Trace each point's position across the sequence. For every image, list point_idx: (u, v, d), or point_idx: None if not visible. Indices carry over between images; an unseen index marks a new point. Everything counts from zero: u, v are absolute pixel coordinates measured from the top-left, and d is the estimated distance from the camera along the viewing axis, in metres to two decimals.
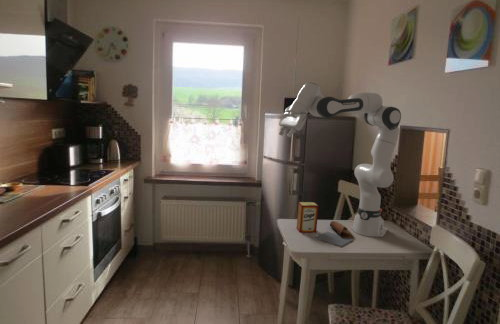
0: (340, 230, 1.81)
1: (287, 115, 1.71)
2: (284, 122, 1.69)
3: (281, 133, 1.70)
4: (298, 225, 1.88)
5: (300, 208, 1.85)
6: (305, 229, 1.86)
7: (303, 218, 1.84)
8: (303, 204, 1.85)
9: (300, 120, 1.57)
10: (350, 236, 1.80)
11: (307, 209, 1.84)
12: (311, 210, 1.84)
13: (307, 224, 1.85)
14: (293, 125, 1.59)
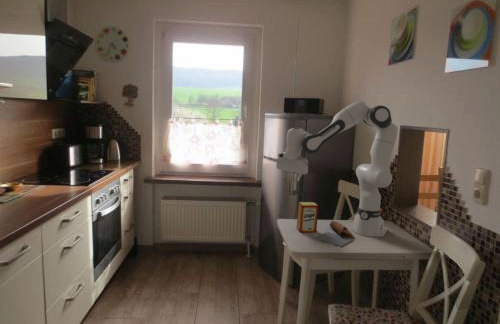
0: (340, 230, 1.81)
1: (283, 160, 1.94)
2: (285, 167, 1.94)
3: (285, 176, 1.96)
4: (298, 225, 1.88)
5: (300, 208, 1.85)
6: (305, 229, 1.86)
7: (303, 218, 1.84)
8: (303, 204, 1.85)
9: (305, 167, 1.85)
10: (350, 236, 1.80)
11: (307, 209, 1.84)
12: (311, 210, 1.84)
13: (307, 224, 1.85)
14: (300, 172, 1.86)
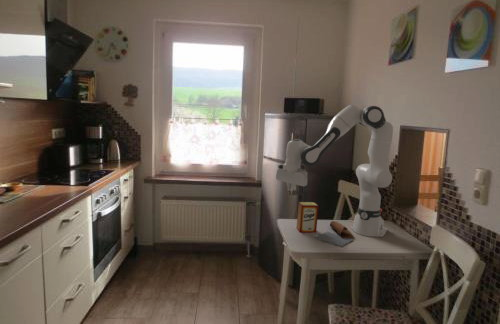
0: (340, 230, 1.81)
1: (283, 172, 1.95)
2: (284, 179, 1.95)
3: None
4: (298, 225, 1.88)
5: (300, 208, 1.85)
6: (305, 229, 1.86)
7: (303, 218, 1.84)
8: (303, 204, 1.85)
9: (304, 179, 1.86)
10: (350, 236, 1.80)
11: (307, 209, 1.84)
12: (311, 210, 1.84)
13: (307, 224, 1.85)
14: (299, 184, 1.88)
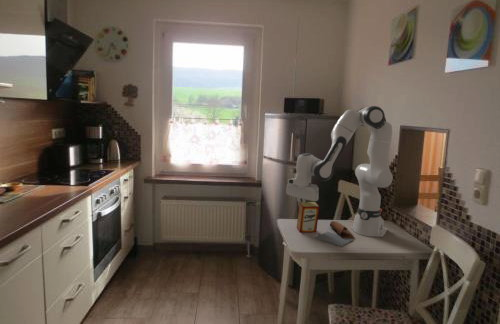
0: (340, 230, 1.81)
1: (293, 186, 1.91)
2: (295, 193, 1.91)
3: None
4: (298, 225, 1.88)
5: (301, 209, 1.84)
6: (305, 229, 1.85)
7: (303, 219, 1.84)
8: (304, 205, 1.83)
9: (316, 194, 1.82)
10: (350, 236, 1.80)
11: (308, 210, 1.82)
12: (312, 211, 1.83)
13: (308, 224, 1.85)
14: (311, 199, 1.83)
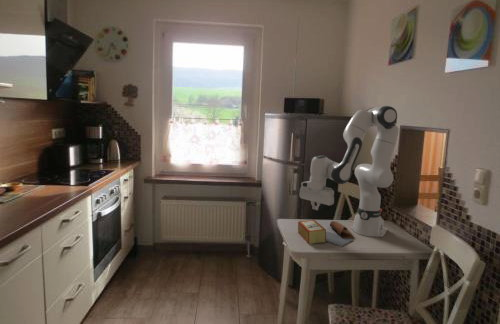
0: (340, 230, 1.81)
1: (307, 189, 1.85)
2: (309, 197, 1.84)
3: None
4: (300, 229, 1.81)
5: (306, 238, 1.72)
6: None
7: None
8: (310, 241, 1.70)
9: (331, 198, 1.76)
10: (350, 236, 1.80)
11: None
12: None
13: None
14: (326, 203, 1.77)
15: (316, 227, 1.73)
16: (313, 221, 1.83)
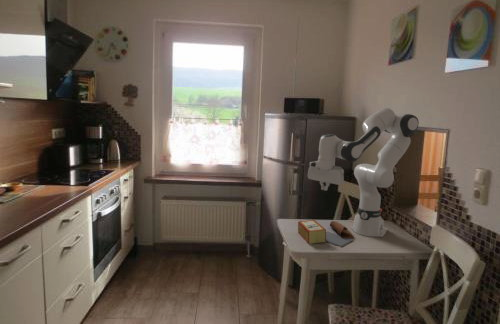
0: (340, 230, 1.81)
1: (315, 170, 1.80)
2: (317, 177, 1.79)
3: None
4: (300, 229, 1.81)
5: (306, 238, 1.72)
6: None
7: None
8: (310, 241, 1.70)
9: (341, 177, 1.71)
10: (350, 236, 1.80)
11: None
12: None
13: None
14: (335, 182, 1.72)
15: (316, 227, 1.73)
16: (313, 221, 1.83)
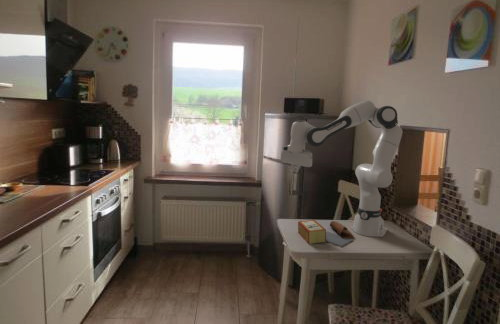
0: (340, 230, 1.81)
1: (288, 153, 1.94)
2: (289, 160, 1.94)
3: None
4: (300, 229, 1.81)
5: (306, 238, 1.72)
6: None
7: None
8: (310, 241, 1.70)
9: (309, 159, 1.85)
10: (350, 236, 1.80)
11: None
12: None
13: None
14: (304, 165, 1.87)
15: (316, 227, 1.73)
16: (313, 221, 1.83)
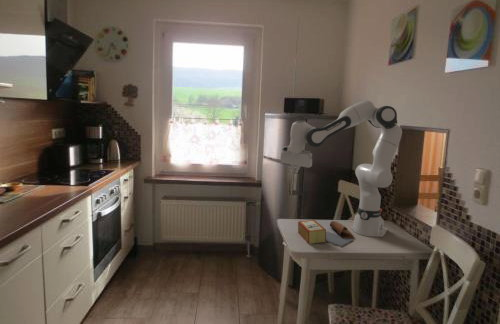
0: (340, 230, 1.81)
1: (287, 154, 1.94)
2: (289, 161, 1.94)
3: None
4: (300, 229, 1.81)
5: (306, 238, 1.72)
6: None
7: None
8: (310, 241, 1.70)
9: (309, 160, 1.85)
10: (350, 236, 1.80)
11: None
12: None
13: None
14: (304, 165, 1.87)
15: (316, 227, 1.73)
16: (313, 221, 1.83)
